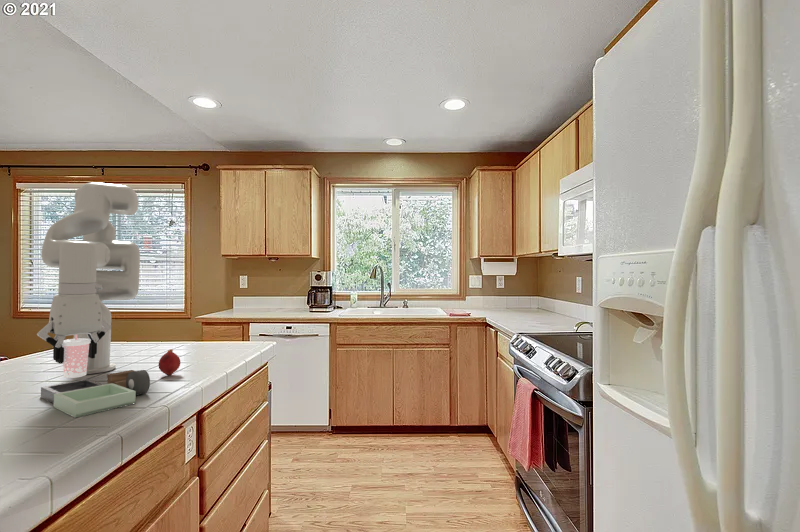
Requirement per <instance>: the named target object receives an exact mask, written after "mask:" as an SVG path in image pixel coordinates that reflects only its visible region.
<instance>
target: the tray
mask: <svg viewBox="0 0 800 532" xmlns="http://www.w3.org/2000/svg"><path fill="white" fill-rule="evenodd" d="M136 396H137V395H136V391H134V390H131V389H128V388H125V387H122V386H119V385H116V384H113V383H111V384H107V383H106V384H104V385H100V386H95V387H89V388H84V389H78V390H73V391H68V392H62V393H57V394H54V403H53V408H54V409H56V410H59V411H61V412H63V413H65V414H66V415H69V416H70V417H73V418H80V417H84V416H88V415H92V414H96V412H98V413H101V411H102V412H104V410H106V411H109V410H108V409H110V410H113V409H112V408H115V409H118V408H117V407H119V408H122V407H121V406H123V407H126V406H125V405H128V406H130V405H129V404H132V405H134V404H133V403H135V404H136Z"/></svg>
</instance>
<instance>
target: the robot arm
mask: <svg viewBox="0 0 800 532" xmlns="http://www.w3.org/2000/svg"><path fill="white" fill-rule="evenodd" d="M74 202H75V205H74V209H73V213H71V214H68V215H66V216H64V217H63V218H60V219H58V220H57V221H55V222H53V223H52V225H50V227H49V228H48V229H47V232H46V233H45V236H44V240H43V242H42V243H43V244H42V247H41V259H42V261H43V263H44V264H45V265H46V266H48V267H50V268H58V290H57V291H58V292H57V293H58V294H55V295H53V298H52V301H51V304H50V305H51V306H50V312H49V317H48V319H49V320H48V323H47V324H46V325H45V326H43V328H41V329H40V330H39V331H38V332H37V333H36V335H37V337H39V338H40V339H42V340H44V341H45V342H47V343H48V344H50V345H51V346H52V347H53V348H52V349H53V351H52V352H53V353H52V354H53V357H52V358H53V360H54V361H55V362H56V363H58V364H63V362H64V347H62V343H63V341H64V340H66V337H68V336H73V339H75V335H77V338H88V339H91V341H90V342H91V343H89V353H88V363H87V373H86V375H92V374H93V375H94V374H98V373H99V374H100V373H105V372H110V371H112V370H115V369H116V365H117V364H116V363H114V362H111V346H112V345H111V339H112V313H111V310H110V308H108V307H107V306H106V305H105V304H104V303H103V302H104V301H130V300H134V299H135V298H136V297H137V296H138V294H139V287H140V286H139V285H140V268H141V265H140V264H141V263H140V262H141V254H140V253H141V252H140V249H139V246H138V244H136V243H135V242H132V241H127V240H115V237H116V236H115V235H116V228H115V226H114V225H113V224H112V223H111V221H110V215H111V214H113V215H126V216H132V215H135V214H136V213H137V211H138V207H139V197H138V194H137V192H136V191H135V189H133V188H132V187H130V186H128V185H122V184H114V183H105V182H86V183H85V184H83V185H81V187H79V188H77V189H76V190H75V192H74ZM78 237H82V240H81V239H74V238H78ZM49 333H50V334H54V337H52V336H50V335H49Z"/></svg>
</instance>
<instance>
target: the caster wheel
mask: <svg viewBox="0 0 800 532" xmlns="http://www.w3.org/2000/svg"><path fill="white" fill-rule="evenodd" d="M150 387H151V379H150V375H149V372H148V371H147V370H146V369H141V370H134V372H130V373H129V374H128V375H127V378H126V388H128V389H131V390H134V391H136V396H138V395H143V394H147V393H148V392H149V390H150Z"/></svg>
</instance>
